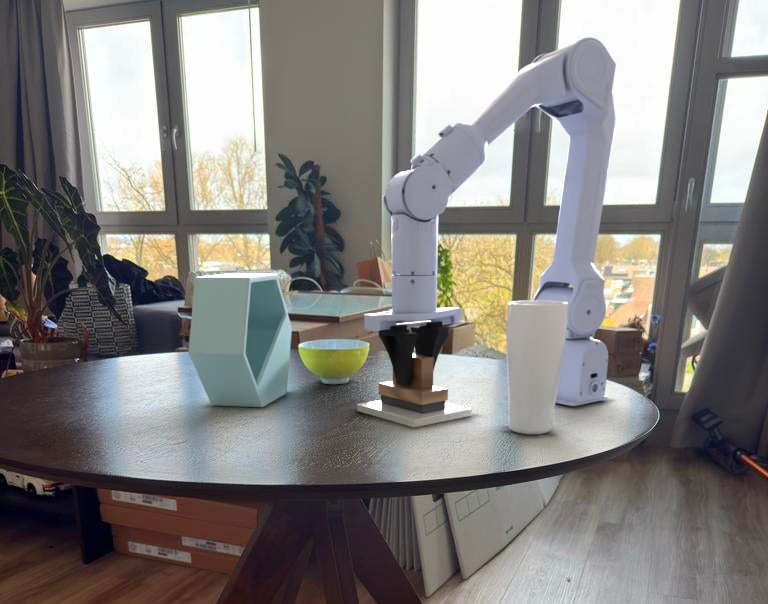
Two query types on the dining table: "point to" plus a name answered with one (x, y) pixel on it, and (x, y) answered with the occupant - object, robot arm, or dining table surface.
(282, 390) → the planter
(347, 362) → the bowl
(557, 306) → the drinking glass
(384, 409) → the tile
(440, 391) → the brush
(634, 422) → the dining table surface
